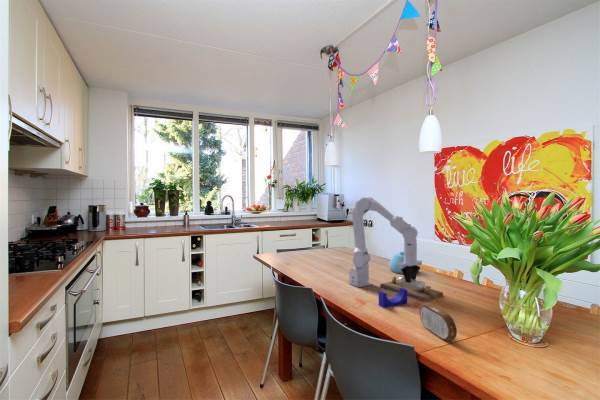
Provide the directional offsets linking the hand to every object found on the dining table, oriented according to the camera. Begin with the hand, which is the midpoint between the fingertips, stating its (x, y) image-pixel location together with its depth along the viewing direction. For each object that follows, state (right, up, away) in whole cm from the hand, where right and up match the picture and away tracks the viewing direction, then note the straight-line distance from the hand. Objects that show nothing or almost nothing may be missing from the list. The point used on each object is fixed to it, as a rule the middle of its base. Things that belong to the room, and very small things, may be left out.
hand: (410, 281), depth 141 cm
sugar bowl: (+9, -4, +37) cm, 38 cm away
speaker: (-7, -6, -43) cm, 44 cm away
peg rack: (0, -4, 0) cm, 4 cm away
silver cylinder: (0, -3, -1) cm, 3 cm away
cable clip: (-14, -5, -16) cm, 22 cm away
